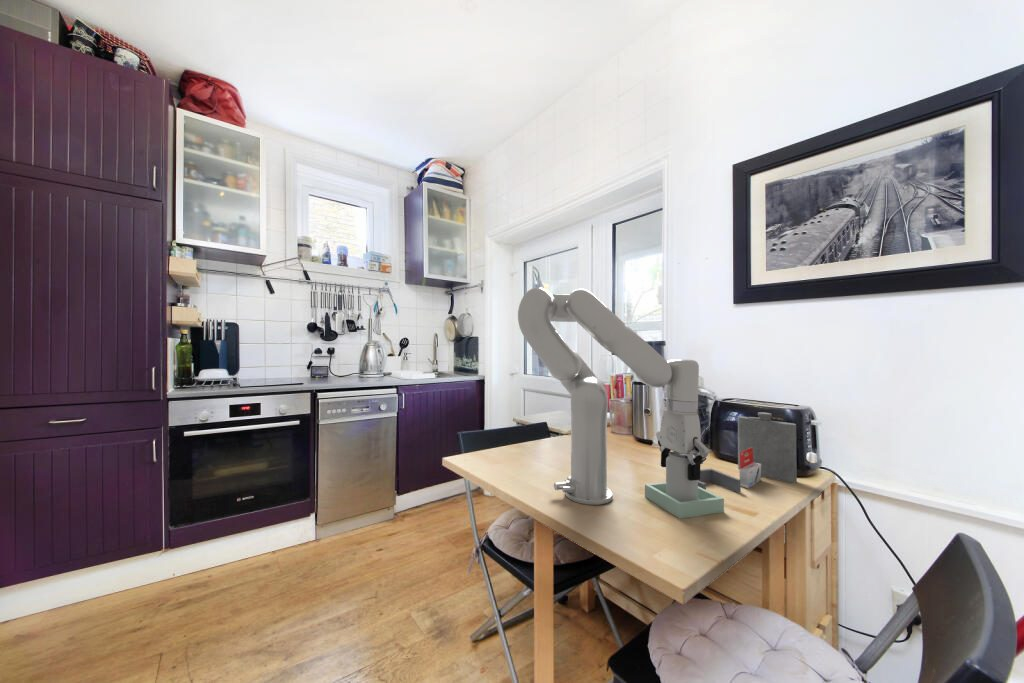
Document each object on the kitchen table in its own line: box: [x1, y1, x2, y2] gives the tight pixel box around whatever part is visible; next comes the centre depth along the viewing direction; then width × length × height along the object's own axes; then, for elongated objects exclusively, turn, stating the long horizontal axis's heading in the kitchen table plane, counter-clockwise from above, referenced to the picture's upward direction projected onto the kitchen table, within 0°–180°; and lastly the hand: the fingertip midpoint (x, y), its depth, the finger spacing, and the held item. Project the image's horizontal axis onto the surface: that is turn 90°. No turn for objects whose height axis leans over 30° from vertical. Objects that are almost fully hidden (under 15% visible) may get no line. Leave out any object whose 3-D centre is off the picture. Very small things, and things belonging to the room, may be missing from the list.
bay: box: [698, 468, 742, 494], centre depth 103 cm, size 13×10×4 cm
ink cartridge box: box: [739, 447, 762, 489], centre depth 108 cm, size 2×11×10 cm, turn 129°
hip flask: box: [737, 411, 798, 484], centre depth 115 cm, size 16×4×20 cm, turn 36°
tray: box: [644, 481, 725, 519], centre depth 92 cm, size 13×13×3 cm
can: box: [665, 451, 698, 502], centre depth 92 cm, size 8×8×12 cm
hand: (679, 473), depth 92 cm, fingers open, 9 cm apart
